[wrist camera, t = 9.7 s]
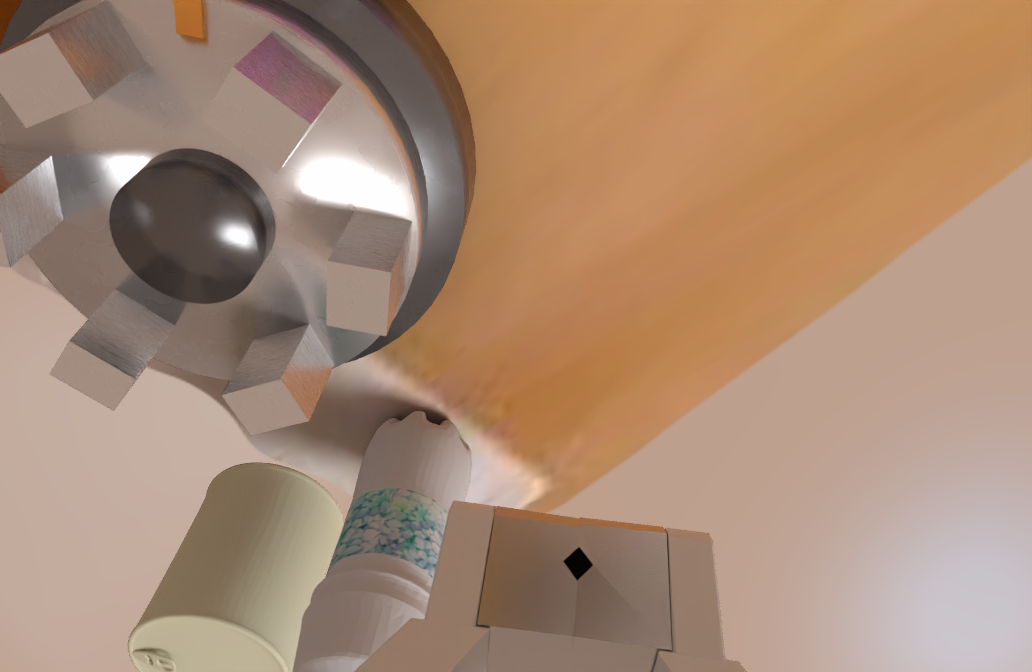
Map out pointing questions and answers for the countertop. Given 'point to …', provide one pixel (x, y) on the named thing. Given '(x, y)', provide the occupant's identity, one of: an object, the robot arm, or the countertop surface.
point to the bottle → (385, 543)
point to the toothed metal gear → (209, 195)
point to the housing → (419, 96)
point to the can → (241, 576)
